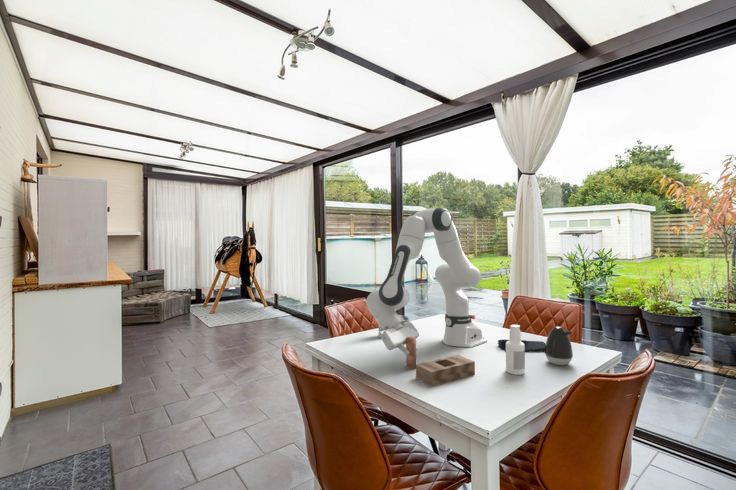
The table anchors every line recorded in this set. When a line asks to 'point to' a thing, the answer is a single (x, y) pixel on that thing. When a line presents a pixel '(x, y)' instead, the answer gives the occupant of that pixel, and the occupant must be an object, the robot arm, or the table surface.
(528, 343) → the dark slate chunk
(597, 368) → the table surface
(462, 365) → the socket block
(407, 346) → the peg
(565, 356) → the pump dispenser
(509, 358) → the white bottle
